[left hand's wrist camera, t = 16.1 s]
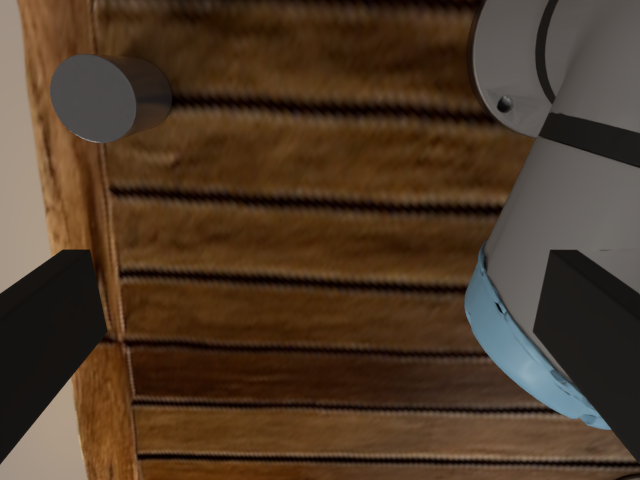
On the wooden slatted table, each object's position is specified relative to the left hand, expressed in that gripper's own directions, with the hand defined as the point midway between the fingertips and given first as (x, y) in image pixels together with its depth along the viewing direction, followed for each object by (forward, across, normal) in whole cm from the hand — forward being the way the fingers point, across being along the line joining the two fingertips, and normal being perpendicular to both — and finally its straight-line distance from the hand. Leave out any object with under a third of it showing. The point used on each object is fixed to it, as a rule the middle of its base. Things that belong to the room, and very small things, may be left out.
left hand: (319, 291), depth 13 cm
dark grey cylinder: (+29, +16, -4) cm, 33 cm away
